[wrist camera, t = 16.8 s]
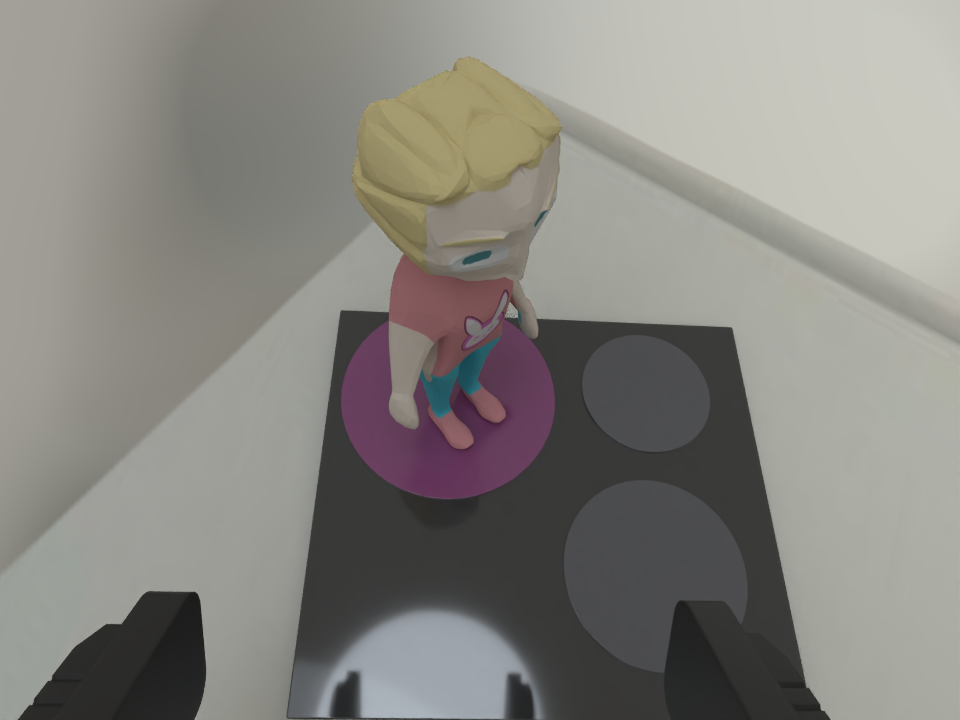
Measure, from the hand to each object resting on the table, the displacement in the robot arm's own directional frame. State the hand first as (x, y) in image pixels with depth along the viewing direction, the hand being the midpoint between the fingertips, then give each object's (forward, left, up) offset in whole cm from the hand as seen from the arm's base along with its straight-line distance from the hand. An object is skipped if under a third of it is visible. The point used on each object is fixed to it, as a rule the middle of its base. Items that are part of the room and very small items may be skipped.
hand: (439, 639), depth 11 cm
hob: (+4, +7, -13) cm, 15 cm away
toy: (0, +10, -13) cm, 17 cm away
